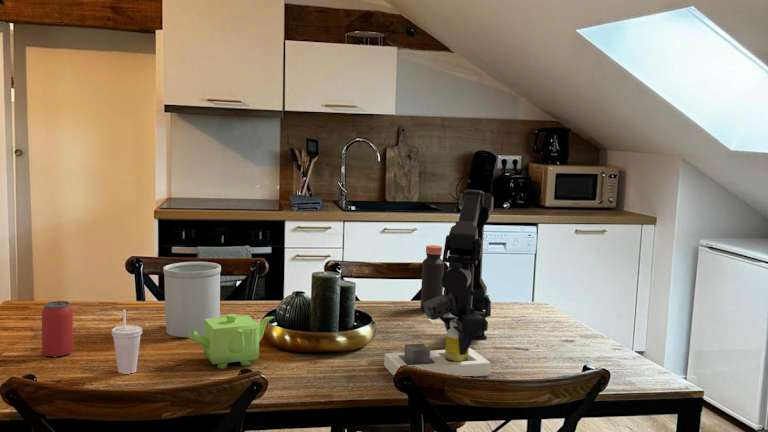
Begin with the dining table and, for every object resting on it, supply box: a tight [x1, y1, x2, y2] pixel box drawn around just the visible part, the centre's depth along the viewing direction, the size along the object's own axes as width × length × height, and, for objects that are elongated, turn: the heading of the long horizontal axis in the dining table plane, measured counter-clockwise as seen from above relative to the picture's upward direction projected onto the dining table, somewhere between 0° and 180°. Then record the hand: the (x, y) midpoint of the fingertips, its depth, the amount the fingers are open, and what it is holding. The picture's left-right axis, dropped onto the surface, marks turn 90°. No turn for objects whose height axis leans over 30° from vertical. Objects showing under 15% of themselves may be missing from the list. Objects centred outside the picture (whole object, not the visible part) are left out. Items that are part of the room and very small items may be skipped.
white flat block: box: [383, 347, 492, 377], centre depth 161 cm, size 22×11×3 cm, turn 108°
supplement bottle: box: [444, 319, 470, 362], centre depth 162 cm, size 5×5×10 cm
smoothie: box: [111, 308, 143, 375], centre depth 152 cm, size 6×6×14 cm
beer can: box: [41, 300, 74, 357], centre depth 162 cm, size 7×7×12 cm
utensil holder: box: [162, 261, 222, 338], centre depth 185 cm, size 15×15×18 cm
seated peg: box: [404, 343, 431, 365], centre depth 159 cm, size 4×4×6 cm
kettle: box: [188, 313, 275, 369], centre depth 161 cm, size 15×14×11 cm
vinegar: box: [420, 244, 445, 312], centre depth 217 cm, size 7×7×20 cm
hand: (457, 350), depth 162 cm, fingers open, 5 cm apart
